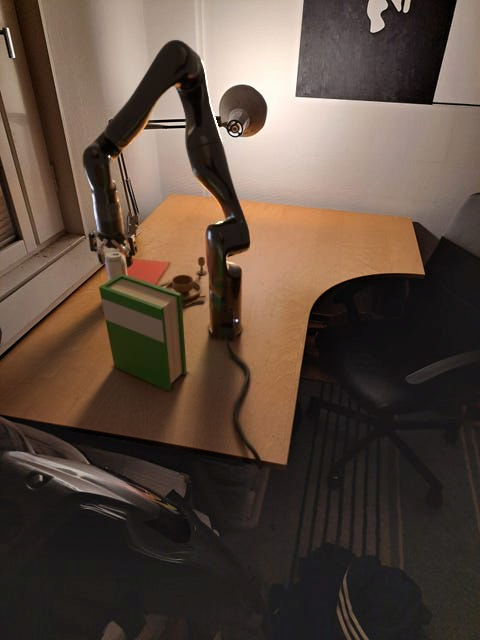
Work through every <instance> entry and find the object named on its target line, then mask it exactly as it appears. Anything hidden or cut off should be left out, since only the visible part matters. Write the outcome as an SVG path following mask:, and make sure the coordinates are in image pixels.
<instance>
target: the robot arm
mask: <svg viewBox="0 0 480 640" xmlns="http://www.w3.org/2000/svg"><path fill="white" fill-rule="evenodd" d="M173 87H174V88H175V90H176V92H177V94H178V97H179V100H180V102H181V106H182V108H183V113H184V117H185V120H184V121H185V129H184V143H185V150H186V154H187V159H188V161H189V165H190V169H191V171H192V173H193V176H194V177H195V178H196V180H197V181H198V182H199V183H200V184H201V186H202V187H203V188H204V189H205V190H206V191H207V192H208V193H209V194H210V195H211V196H212V197H213V198H214V199H215V201H216V202H217V204H218V205H219V207H220V209H221V211H222V214H223V217H224V220H221V221H216V222H213V223H209V224H208V225H207V226H206V228H205V231H204V247H205V264H206V268H207V274H208V308H209V309H208V311H209V332H210V334H211V337H212V338H217V339H219V340H224V341H225V346H226V349H227V351H228V353H229V355H230V356H231V358H232V359H233V360H234V361H235V362H236V363H238V364H239V365H241V366H242V368H244V371H245V379H244V382H243V384H242V387H241V390H240V393H239V395H238V397H237V399H236V401H235V403H234V406H233V413H232V415H233V422H234V426H235V428H236V431H237V433H238V435H239V438H240V440H241V441H242V443H243V444H244V446H245V447H246V448H247V449H248V450H249V452H251V454H252V456H253V457H254V459H255V462H256V467H257V468H258V469H259V470H262V469H263V463H262V459H261V457H260V455H259V453H258V451H257V449H256V448H255V447H254V446H253V445H252V444H251V443H250V441H249V440H248V438H247V437H246V436H245V434H244V431H243V430H242V427H241V425H240V421H239V417H238V416H239V415H238V413H239V407H240V404H241V402H242V400H243V398H244V396H245V393H246V389H247V387H248V384H249V381H250V379H251V372H250V368H249V366H248V365H247V364H246V362H244V361H243V360H242V359H240V358H239V357H238V356H237V355H236V354H235V353H234V351H233V350H232V347H231V344H230V341H232V342H233V341H236V339H237V336H238V335H240V334H241V332H242V312H243V283H244V282H243V278H244V271H243V268H242V267H241V266H240V265H239V264H238V263H236V262H232V261H228V260H227V259H228V258H232V257H235V256H238V255H241V254H244V253H247V252H248V251H249V250H250V249H251V244H252V237H251V232H250V228H249V224H248V222H247V219H246V216H245V214H244V210H243V208H242V206H241V203H240V201H239V197H238V195H237V192H236V188H235V185H234V182H233V179H232V173H231V170H230V165H229V162H228V158H227V154H226V150H225V147H224V143H223V140H222V136H221V134H220V129H219V126H218V123H217V120H216V117H215V113H214V111H213V107H212V104H211V98H210V94H209V93H210V92H209V87H208V80H207V73H206V69H205V65H204V62H203V60H202V58H201V56H200V55H199V54H198V52H196V51H195V50H194V49H193V48H192V47H190V46H189V44H187V43H186V42H184V41H182V40H179V39H172V40H170V41H167V42H166V43H165V44H164V45H163V46H162V47H161V48H160V49H159V51H158V53H157V54H156V55H155V57H154V59H153V61H152V62H151V64H150V66H149V67H148V69H147V71H146V72H145V74H144V76H143V77H142V79H141V80H140V81H139V84H137V87H136V88H135V90H134V91H133V93H132V94H131V96H130V97H129V98H128V100H127V101H126V102H125V103H124V105H123V106H122V107H121V109H119V110H118V112H117V113H116V114H115V115H114V116H113V117H112V119H111V120H110V121H109V122H108V124H107V125H106V127H105V128H104V130H103V131H102V132H101V133H100V134H99V136H97V137H96V139H94V141H93V142H91V144H89V145H88V146H87V147H86V148H84V150H83V152H82V166H83V170H84V173H85V175H86V178H87V180H88V182H89V186H90V190H91V196H92V202H93V203H92V204H93V213H94V218H95V224H96V230H97V232H96V230H91V231H90V232H89V233H88V243H89V250H90V252H95V254H97V258H98V262H99V263H100V265H102V266H103V265H106V264H105V258H106V254H105V251H104V250H105V248H107V249H114V250H118V251H120V252H122V254H124V255H125V263H126V268H127V267H129V268H130V266H131V265H132V264H133V259H134V258H133V257H134V256H136V255H137V253H138V252H139V249H138V244H137V240H136V235H135V234H130V235H127V234H125V227H124V221H123V211H122V207H121V203H120V198H119V192H118V186H117V182H116V180H114V179H113V177H112V172H111V166H112V164H114V162H115V161H116V160H117V159H118V158H119V157H120V155H121V154H122V153H123V151H124V150H125V149H127V148H128V147H129V146H130V145H131V144H132V143H133V142H134V141H135V140H136V139H137V138H138V136H140V134H141V133H142V132H143V131H144V129H145V128H146V127H147V125H148V123H149V120H150V118H151V116H152V113H153V112H154V109H155V107H156V105H157V104H158V102H159V101H160V99H161V98H162V97H163V96H164V95H165V94H166V93H167V92H168V91H169V90H170V89H172V88H173ZM97 239H99V240H100V242H101V243H100V245H98V240H97ZM255 578H256V574H255V573H254V574H253V576H252V577H251V582H254V581H255Z"/></svg>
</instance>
